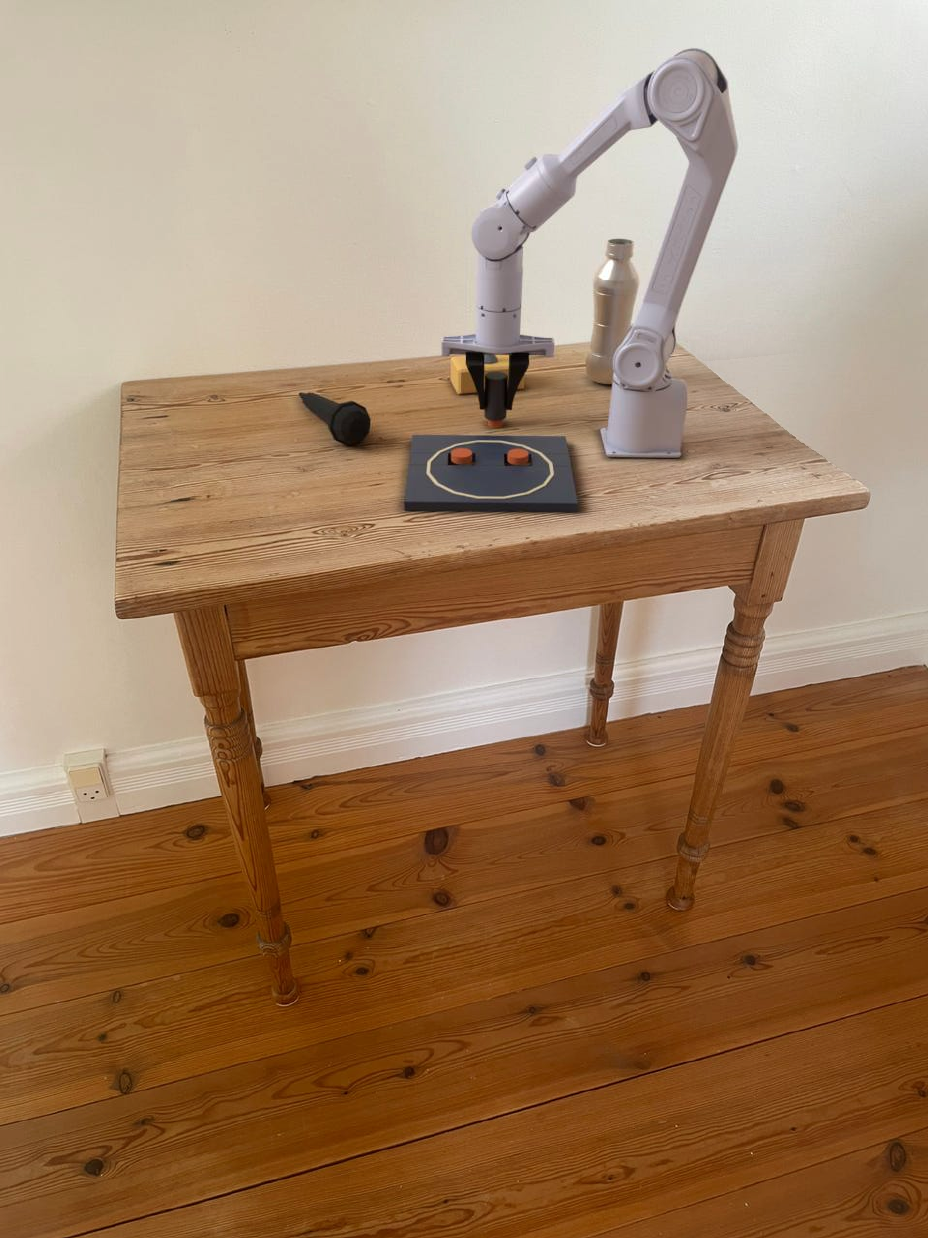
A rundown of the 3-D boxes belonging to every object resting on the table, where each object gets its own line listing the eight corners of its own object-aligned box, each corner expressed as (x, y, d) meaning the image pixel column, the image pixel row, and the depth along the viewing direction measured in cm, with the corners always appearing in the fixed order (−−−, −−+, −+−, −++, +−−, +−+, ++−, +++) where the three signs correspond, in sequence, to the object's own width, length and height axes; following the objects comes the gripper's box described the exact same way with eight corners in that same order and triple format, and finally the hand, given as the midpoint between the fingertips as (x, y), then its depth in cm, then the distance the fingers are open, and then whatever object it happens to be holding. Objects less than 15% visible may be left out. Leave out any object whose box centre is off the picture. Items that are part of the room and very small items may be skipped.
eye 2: (527, 455, 116) (528, 448, 115) (528, 465, 114) (529, 457, 113) (507, 455, 116) (507, 448, 115) (507, 465, 114) (508, 457, 113)
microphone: (293, 420, 133) (349, 458, 118) (275, 385, 130) (331, 419, 115) (324, 402, 135) (384, 437, 119) (308, 367, 131) (367, 398, 116)
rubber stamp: (514, 375, 140) (517, 295, 133) (524, 389, 136) (528, 307, 129) (450, 380, 138) (450, 299, 131) (458, 395, 134) (458, 312, 127)
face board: (564, 444, 121) (565, 435, 120) (577, 512, 106) (578, 502, 106) (412, 442, 121) (412, 433, 120) (404, 510, 106) (404, 500, 106)
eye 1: (472, 455, 116) (472, 447, 115) (472, 464, 114) (472, 457, 113) (451, 455, 116) (451, 447, 115) (451, 464, 114) (451, 457, 113)
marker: (505, 420, 127) (507, 371, 123) (506, 429, 125) (508, 379, 120) (484, 420, 127) (485, 370, 123) (484, 429, 125) (485, 379, 120)
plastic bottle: (631, 389, 136) (648, 248, 124) (585, 389, 136) (598, 247, 124) (626, 373, 141) (642, 235, 129) (582, 372, 141) (593, 235, 130)
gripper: (554, 296, 120) (547, 395, 128) (442, 294, 120) (442, 394, 128) (558, 313, 114) (550, 416, 122) (440, 312, 114) (441, 415, 122)
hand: (495, 406), depth 124 cm, fingers closed on marker, 3 cm apart
